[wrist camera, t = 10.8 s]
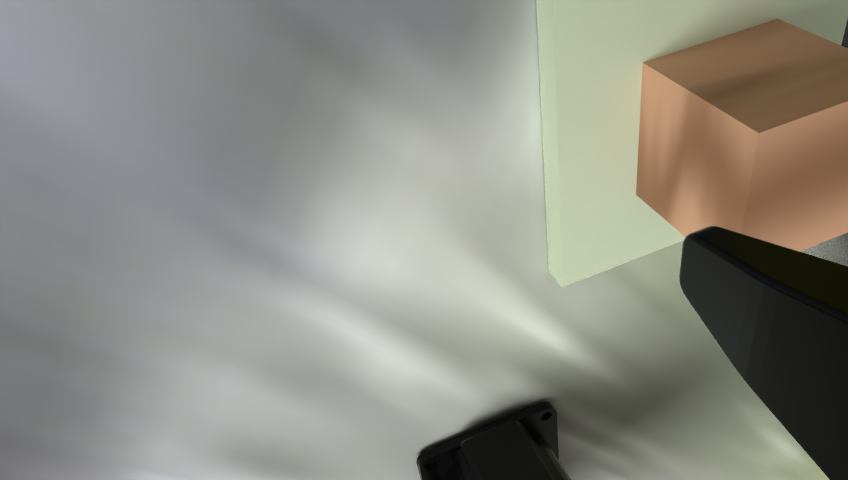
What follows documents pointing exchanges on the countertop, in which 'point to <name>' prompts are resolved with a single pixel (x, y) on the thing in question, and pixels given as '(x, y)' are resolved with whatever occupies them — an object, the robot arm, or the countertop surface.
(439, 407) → the countertop surface
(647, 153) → the terracotta cube
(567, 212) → the pad
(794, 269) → the robot arm
